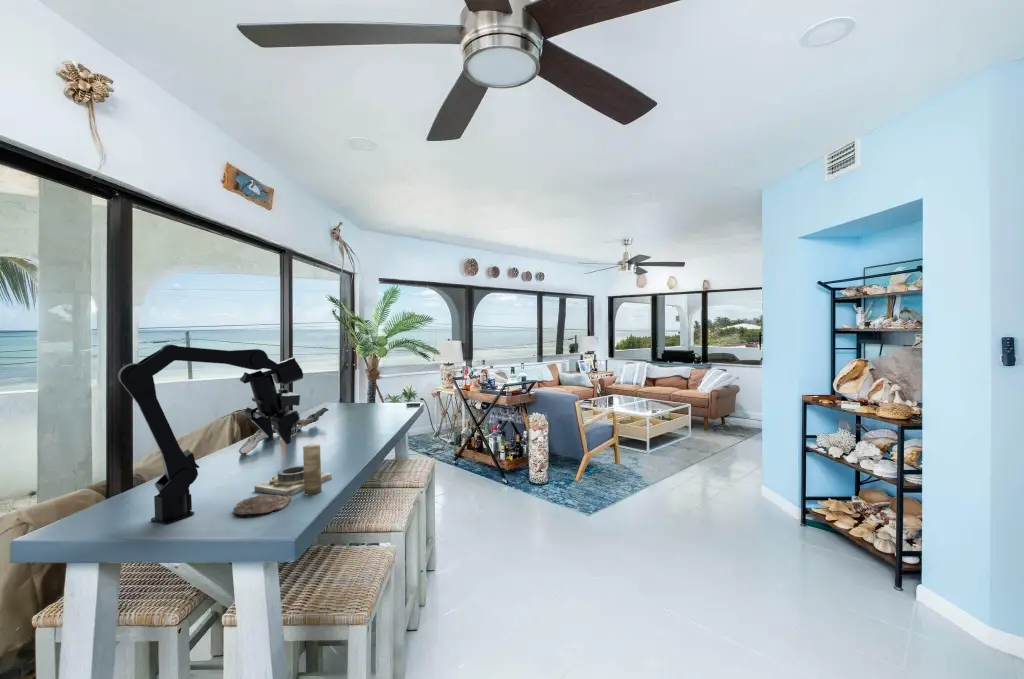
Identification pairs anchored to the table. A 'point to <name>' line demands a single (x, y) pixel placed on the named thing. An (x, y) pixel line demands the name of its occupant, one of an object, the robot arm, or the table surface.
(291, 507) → the table surface
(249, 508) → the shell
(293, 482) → the gear board
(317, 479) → the oak axle
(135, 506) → the table surface
